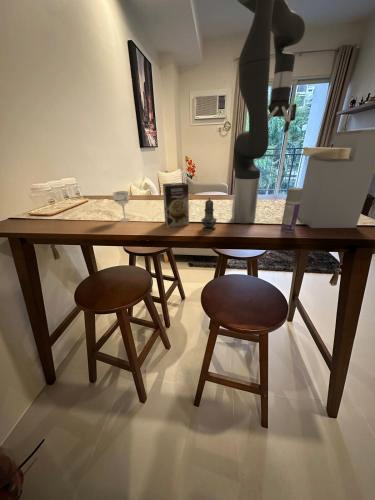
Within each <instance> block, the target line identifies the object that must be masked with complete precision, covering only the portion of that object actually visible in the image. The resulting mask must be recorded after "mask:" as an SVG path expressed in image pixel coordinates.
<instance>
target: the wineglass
mask: <svg viewBox="0 0 375 500" xmlns="http://www.w3.org/2000/svg"><path fill="white" fill-rule="evenodd" d="M112 195H113V201H114V203H116V204H117V205H119V206H121V207H122V212H123V218H121V220H120V219H119V220H120V221H119V222H122V223H123V222H129V221H131V220H130V219H131V218H130V217H126V212H125V205H126V204H128V203H129V201H130V198H131V197H130V194H129V191H127V190H123V191H122V190H120V191H115V192H112ZM129 218H130V219H129Z"/></svg>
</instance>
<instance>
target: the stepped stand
mask: <svg viewBox="0 0 375 500" xmlns="http://www.w3.org/2000/svg"><path fill="white" fill-rule="evenodd" d="M332 148H351V151H350V155H349V158H348V159H331V158H321V157H311V156H308V158H307V162H306V163H307V164H306V170H305V174H304V178H303V182H302V183H303V184H302V187H301V188H302V189H303V190H302V196H301V201H300V207H299V211H298V216H297V219H298V220H299V221H302V223H305V225H307V226H308V227H309V228H311V229H329V228H330V229H336V228H337V229H338V228H339V229H342V228H343V229H345V228H346V229H351V228H353V229H355V228H357V226H358V223H359V219H360V217H361V215H362V211H363V208H364V205H365V202H366V200H367V196H368V193H369V191H370V187H371V185H372V182H373V179H374V176H375V128H374V129H373V128H371V129H357V130H356V129H355V130H347V131H346V130H345V131H336V132H335V137H334V140H333V145H332Z"/></svg>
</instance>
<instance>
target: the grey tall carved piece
mask: <svg viewBox="0 0 375 500" xmlns="http://www.w3.org/2000/svg"><path fill="white" fill-rule="evenodd" d="M204 204H205V205H204V207H205V208H204V210H203V211H204V218H202V219H201V224H202V225H203V227H202V228H201V230H202V231H205V232H213V231H215V230H216V229H217V228H216V227H215V225H216V223H217V221H218V219H216V218H215V217H214V211H215V209H214V201H213V200H211V198H210V197H208V200H206V201H205V203H204Z"/></svg>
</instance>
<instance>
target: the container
mask: <svg viewBox="0 0 375 500" xmlns="http://www.w3.org/2000/svg"><path fill="white" fill-rule="evenodd" d="M302 190H303V189H302V187H288V189H287V193H286V198H285V204H284V209H283V214H282V220H281V224H280V225H281V226H280V231H282V232H285V233H294V232H295V230H296V225H297V221H298V220H297V219H298V217H297V216H298V211H299V207H300V201H301V196H302Z"/></svg>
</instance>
